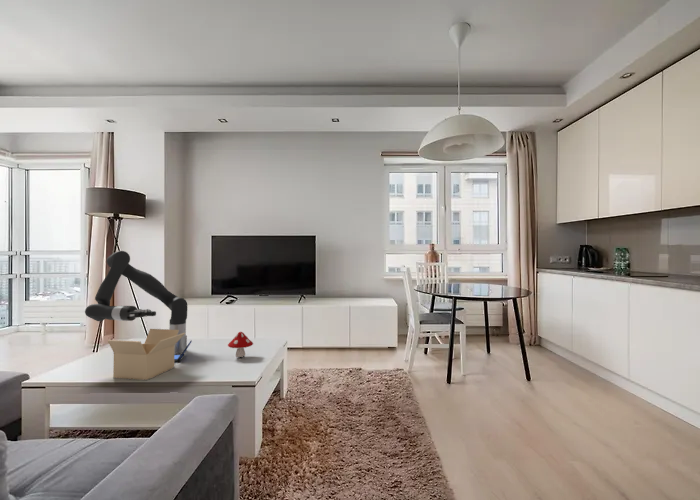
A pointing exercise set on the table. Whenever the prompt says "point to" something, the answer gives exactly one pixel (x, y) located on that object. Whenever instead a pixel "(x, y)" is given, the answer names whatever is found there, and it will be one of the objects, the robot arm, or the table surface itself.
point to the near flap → (166, 343)
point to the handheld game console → (180, 355)
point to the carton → (142, 356)
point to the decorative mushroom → (240, 344)
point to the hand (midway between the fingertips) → (155, 313)
